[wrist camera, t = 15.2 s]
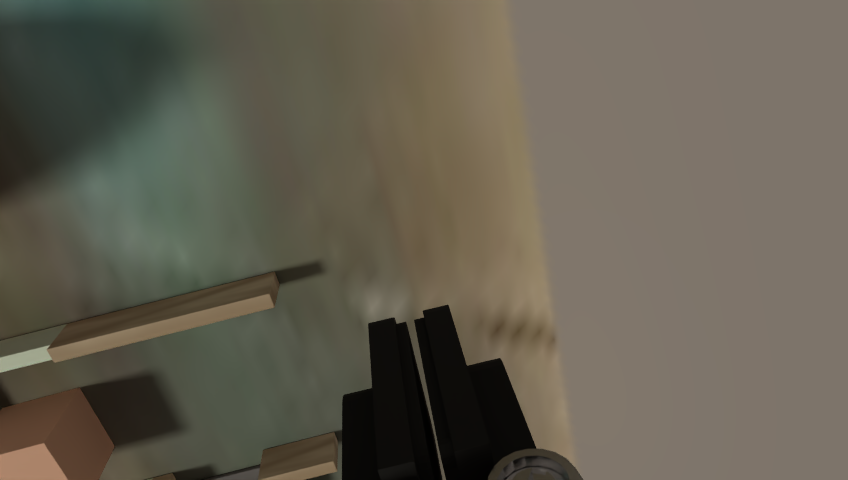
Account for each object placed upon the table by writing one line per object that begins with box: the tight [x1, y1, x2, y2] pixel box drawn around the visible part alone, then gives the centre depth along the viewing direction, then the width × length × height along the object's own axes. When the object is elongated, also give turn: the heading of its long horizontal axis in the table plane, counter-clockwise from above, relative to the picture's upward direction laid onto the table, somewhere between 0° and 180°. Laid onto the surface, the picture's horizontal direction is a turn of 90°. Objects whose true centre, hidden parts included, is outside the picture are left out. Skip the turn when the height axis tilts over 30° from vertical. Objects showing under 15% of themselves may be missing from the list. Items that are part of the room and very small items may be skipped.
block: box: [0, 388, 115, 480], centre depth 41 cm, size 6×6×6 cm
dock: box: [0, 324, 153, 480], centre depth 42 cm, size 15×10×2 cm, turn 13°
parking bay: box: [47, 272, 338, 480], centre depth 43 cm, size 21×14×3 cm, turn 13°
